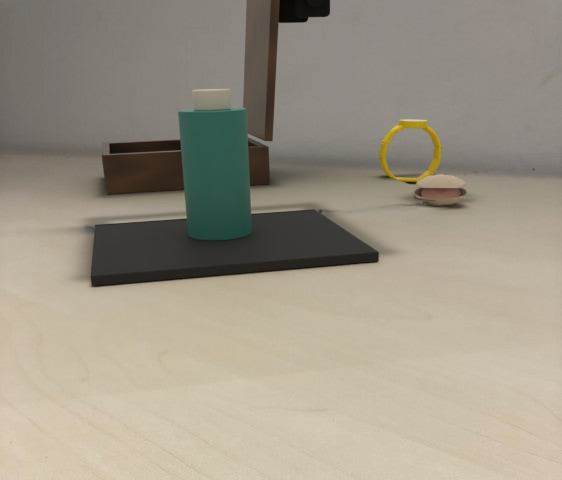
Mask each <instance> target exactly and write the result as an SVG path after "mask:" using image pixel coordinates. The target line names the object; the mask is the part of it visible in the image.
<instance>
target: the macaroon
mask: <svg viewBox="0 0 562 480" xmlns="http://www.w3.org/2000/svg"><path fill="white" fill-rule="evenodd" d="M414 188H415V189H414V191H413V192H414V195H415V199H417V200H418V199H419V200H423V203H424V204H425V205H429V206H437V207H442V206H452V205H455V204H456V203H458V202H460V201H463V200H464V199H465V197H466V194H467V193H468V192H467V190H466V189H468V187H467V184H466V181H465V180H463V179H461V178H459V177H458V176H456V175H448V174H443V173H440V174H433V175H432V176H427V177H425V178H423V179H422V180H419V181H417V182H416V183H415V186H414Z"/></svg>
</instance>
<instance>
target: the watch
mask: <svg viewBox="0 0 562 480" xmlns="http://www.w3.org/2000/svg"><path fill="white" fill-rule="evenodd" d="M428 124H429V123H428V120H427V119H416V118H415V119H414V118H413V119H412V118H404V119H399V120H398V124H397V125H395V126H393V127H392V128H390V130H388V132H387V133H386V134H385V136H384V138H383V139H382V140H381V143H380V148H379V152H378V160H379V164H380V167H381V170H382V172H383V173H384V174H385V176H387V177H389V178H391V179H394V180H396V181H400V182H402V183H417V181H419V180H422V179H423V178H425V177H427V176H433V175H435V173H436V171H437V169H438V167H439V165H440V163H441V160H442V143H441V141H440V138H439V136H438V134H437V132H436V131H435V130H434V129H433V128H431V127H430V126H429V125H428ZM404 129H422V131H424V132H425V133H426V134H428V135H429V137H430V139H431V142H432V145H433V158H432V160H431V162H430V164H429V166H428V168H427V170H425V172H423V173H422V174H421V175H419V176H418V177H403V176H401V177H400V176H395V175H394V174H393V172H392V171H390V168H389V165H388V162H387V159H386V158H387V152H388V148H389V147H388V145H389V144H390V142H391V141H392V139H393V138H394V136H395V135H396V134H397V133H399V132H401V131H403V130H404Z"/></svg>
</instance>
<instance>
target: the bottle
mask: <svg viewBox="0 0 562 480" xmlns="http://www.w3.org/2000/svg"><path fill="white" fill-rule="evenodd" d="M191 92H192V108H187V109H180V110H178V111H177V117H178V127H179V128H178V129H179V139H180V142H181V154H182V167H183V179H184V190H183V191H184V202H185V203H184V205H185V215H186V218H187V228H188V236H189V237H191V238H194V239H198V240H210V241H217V240H231V239H237V238H242V237H245V236H248V235H250V234H251V233H252V221H251V214H252V203H251V202H252V201H251V186H250V176H249V154H248V137H249V134H248V131H247V109H246V108H243V107H232V103H231V102H232V101H231V89H230V88H206V89H205V88H203V89H193V90H192V91H191Z"/></svg>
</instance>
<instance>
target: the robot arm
mask: <svg viewBox="0 0 562 480" xmlns="http://www.w3.org/2000/svg"><path fill="white" fill-rule="evenodd" d="M330 14H331V0H280V3H279V23H278V24H293V23H294V24H297V23H298V24H302V23H307V22H308V21H309V18H327V17H329V16H330Z"/></svg>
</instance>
